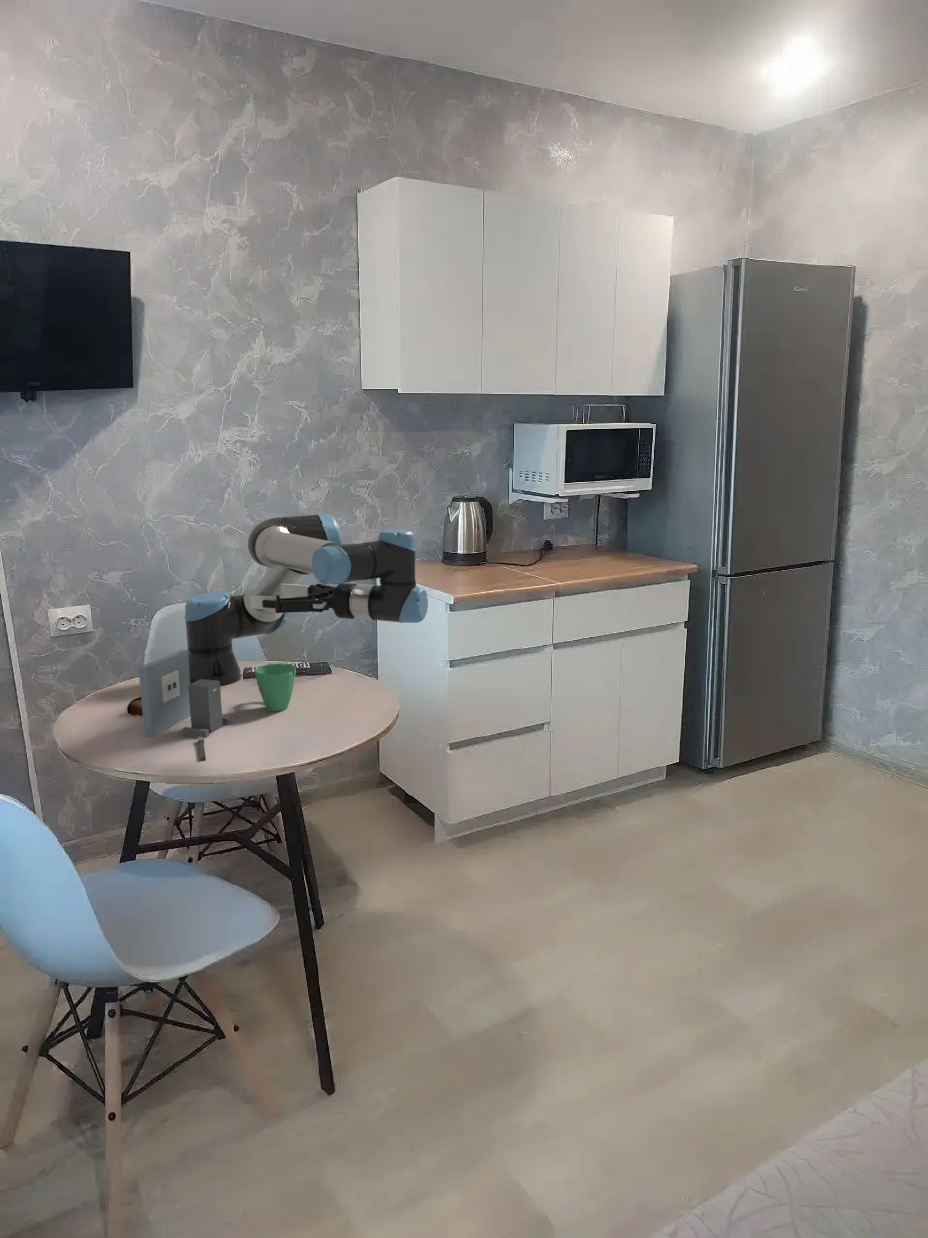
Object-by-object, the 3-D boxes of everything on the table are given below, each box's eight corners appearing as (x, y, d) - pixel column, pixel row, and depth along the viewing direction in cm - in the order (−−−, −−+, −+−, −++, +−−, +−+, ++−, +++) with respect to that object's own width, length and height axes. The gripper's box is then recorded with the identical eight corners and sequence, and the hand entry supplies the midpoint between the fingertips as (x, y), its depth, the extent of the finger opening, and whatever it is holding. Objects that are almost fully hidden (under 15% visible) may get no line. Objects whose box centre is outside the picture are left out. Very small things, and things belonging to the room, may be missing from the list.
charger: (200, 724, 211) (196, 678, 209) (223, 726, 210) (220, 680, 207) (187, 731, 207) (184, 684, 204) (211, 733, 205) (208, 686, 203)
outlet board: (185, 714, 219) (180, 649, 215) (236, 719, 215) (232, 653, 211) (144, 736, 204) (138, 667, 200) (199, 741, 200) (193, 671, 196)
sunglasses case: (157, 717, 216) (143, 693, 216) (136, 729, 219) (122, 705, 218) (198, 695, 233) (185, 673, 233) (178, 707, 236) (165, 685, 235)
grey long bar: (198, 741, 200) (197, 737, 200) (203, 740, 200) (203, 736, 200) (200, 760, 189) (200, 756, 188) (206, 760, 189) (206, 755, 189)
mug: (300, 712, 219) (298, 672, 217) (258, 716, 217) (256, 676, 214) (292, 695, 233) (290, 657, 231) (253, 699, 230) (251, 660, 228)
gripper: (331, 631, 183) (238, 624, 189) (378, 606, 206) (294, 601, 212) (330, 595, 181) (236, 589, 187) (377, 574, 205) (292, 569, 211)
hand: (266, 595), depth 200 cm, fingers open, 13 cm apart
